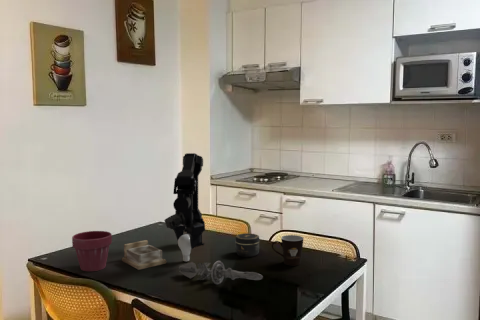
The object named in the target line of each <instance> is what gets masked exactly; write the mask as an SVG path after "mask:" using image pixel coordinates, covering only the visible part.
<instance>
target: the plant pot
mask: <svg viewBox="0 0 480 320" xmlns="http://www.w3.org/2000/svg"><path fill="white" fill-rule="evenodd" d="M112 236H113V235H112V233H111V232H109V231H106V230H105V231H104V230H92V231H91V230H89V231H83V232H79V233H76V234H74V235H73V236H72V238H71V240H72V241H71V244H72V248H73V249H75V252H76V253H75V255H76V256H77V260H78V264H79V268H80V270H81V271H83V272H98V271H102V270H103V269H105V268H106V266H107V261H108V260H107V259H108V256H109V250H110V245H111V244H112V243H113V237H112Z"/></svg>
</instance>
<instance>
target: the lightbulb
mask: <svg viewBox="0 0 480 320" xmlns="http://www.w3.org/2000/svg"><path fill="white" fill-rule="evenodd" d="M177 245H178V248H179V249H180V250H181V254H182V261H184V262H185V263H189V261H190V260H191V259H190V258H191V256H190V254H191V252H192V249H191V244H190V236H189V235H188V234H187V233H185V234H184V233H183V235H182V236H180V238H179V239H178V240H177Z"/></svg>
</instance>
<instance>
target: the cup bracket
mask: <svg viewBox="0 0 480 320" xmlns="http://www.w3.org/2000/svg"><path fill="white" fill-rule="evenodd" d="M123 253H124V254H123V256H124V257H122V258H121V261H122V262H123V263H125V264H127V265H129V266H131V267H133V268H135V269H137V270H138V271H140V270H144V269H147V268H151V267H152V268H153V267H156V266H161V265H164V264H167V260H166V259H165V258H163V250H162V249H160V248H158V247H156V246H153V245H151V244H149V241H148V240H147V239H145V240H140V241H139V240H138V241H135V242H130V243H125V244H123Z"/></svg>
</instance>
